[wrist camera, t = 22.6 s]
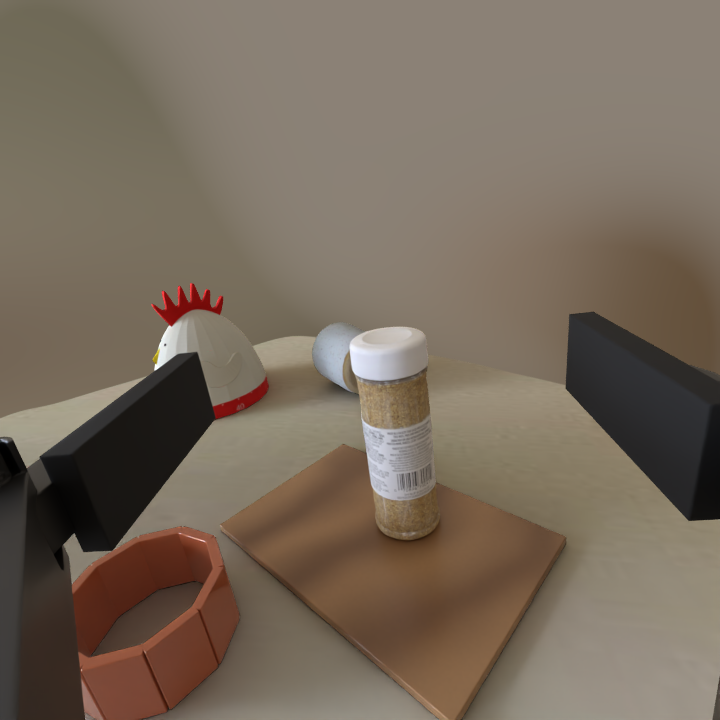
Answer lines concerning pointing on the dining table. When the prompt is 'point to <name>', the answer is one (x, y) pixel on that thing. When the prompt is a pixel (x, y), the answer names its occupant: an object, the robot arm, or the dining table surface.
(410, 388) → the sprinkles bottle
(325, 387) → the dining table surface
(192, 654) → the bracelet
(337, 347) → the ceramic mug
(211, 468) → the dining table surface
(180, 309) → the kitchen timer
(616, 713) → the dining table surface
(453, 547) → the wooden board
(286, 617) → the dining table surface
